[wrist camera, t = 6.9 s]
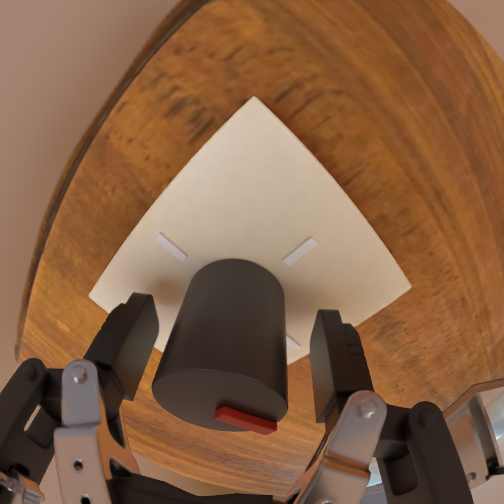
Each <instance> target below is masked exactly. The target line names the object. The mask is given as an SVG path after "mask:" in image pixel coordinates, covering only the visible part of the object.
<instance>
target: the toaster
mask: <svg viewBox="0 0 504 504" xmlns="http://www.w3.org/2000/svg"><path fill="white" fill-rule="evenodd" d="M359 504H387V499H386V495H385V491H384V487H383V483H381V484H378V485H374V486H371V487H367V488H366V490H365V492H364V494H363V496H362V499H361V501H360V503H359Z"/></svg>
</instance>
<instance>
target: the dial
mask: <svg viewBox="0 0 504 504" xmlns="http://www.w3.org/2000/svg"><path fill="white" fill-rule="evenodd" d="M152 393H153V396H154V398H155V399H156V401H157V402H158V403H159V404H160V405H161V406H162V407H163V408H164V409H165V410H166V411H168V412H169V413H171V414H172V415H174V416H176V417H178V418H180V419H182V420H184V421H186V422H189V423H191V424H194V425H197V426H201V427H204V428H209V429H214V430H220V431H233V432H238V431H253V432H257V433H261V434H264V435H267V434H270V433H272V432H275V431H277V422H279V421H280V420H281V419H282V418H283V417H284V416H285V415H286V413H287V410H288V374H287V342H286V317H285V296H284V292H283V289H282V286H281V285H280V283H279V281H278V280H277V279H276V278H275V276H274V275H273V274H272V273H270V272H269V271H268V270H266V269H265V268H263V267H262V266H260V265H258V264H255V263H253V262H249V261H246V260H239V259H225V260H219V261H216V262H212V263H210V264H208V265H206V266H204V267H203V268H201V269H200V270H199V271H198V272H197V273H196V274H195V275H194V277H193V278H192V280H191V282H190V285H189V287H188V290H187V292H186V294H185V297H184V299H183V302H182V305H181V307H180V310H179V312H178V315H177V317H176V320H175V323H174V325H173V328H172V330H171V333H170V336H169V338H168V341H167V344H166V346H165V349H164V352H163V355H162V357H161V360H160V363H159V366H158V368H157V371H156V374H155V377H154V380H153V383H152Z"/></svg>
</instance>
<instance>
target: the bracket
mask: <svg viewBox="0 0 504 504" xmlns="http://www.w3.org/2000/svg"><path fill="white" fill-rule="evenodd" d="M503 390H504V379H502V380H497V381H492V382H487V383H482V384H476V385H473V386H472V387H471V388H470V389H469V390H467V391H466V392H465V393H464V394H463V395H462V396H461V397H460V398H459V399H458V400H457V401H455V402H454V403H453V404H452V405H451V406H450V407H449V408H447V409H446V410H445V411H444V412H443V413H442V414H443V417H444V419H445V421H446V424H447V426H448V429H449V431H450V433H451V436H452V439H453V441H454V444H455V446H456V449H457V452H458V454H459V457H460V460H461V463H462V466H463V469H464V472H465V475H466V478H467V481H468V485H469V488H470V490H471V489H473V488H475V487H477V486H479V485H481V484H483V483H485V482H486V481H488V480H489V479H490V478H491V477H493V476H495V475H492V476H491V477H490V478H489V474H488V469H487V465H486V462H489V461H494V463H493V467H494V466H502V465H503V462H502V458H501V454H500V451H499V447H498V444H497V441H496V437H495V434H494V431H493V428H492V425H491V423H490V420H489V417H488V414H487V412H486V409H485V407H486V406H487V405H488V404H489V403H490V402H491V401H492V400H493V399H494V398H496V397H497V396H498V395H499V394H500V393H501V392H502V391H503Z"/></svg>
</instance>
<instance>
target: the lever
mask: <svg viewBox="0 0 504 504" xmlns="http://www.w3.org/2000/svg"><path fill="white" fill-rule="evenodd" d="M493 463H494V461H489V462H486V465H487V469H488V474H489V478H490V477H491V476H492V475H501V474H504V465H502V466H494V467H493Z"/></svg>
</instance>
